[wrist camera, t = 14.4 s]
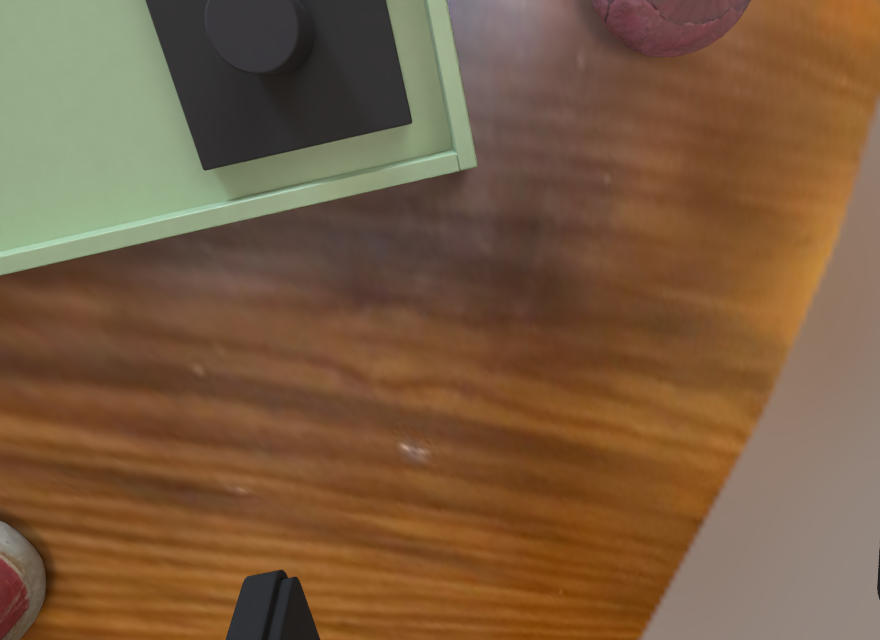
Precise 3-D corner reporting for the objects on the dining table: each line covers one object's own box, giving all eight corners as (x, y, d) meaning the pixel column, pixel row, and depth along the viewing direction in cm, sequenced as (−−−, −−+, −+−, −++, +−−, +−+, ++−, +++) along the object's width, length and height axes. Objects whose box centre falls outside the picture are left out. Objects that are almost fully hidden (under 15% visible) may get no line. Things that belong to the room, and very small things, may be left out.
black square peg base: (359, -117, 25) (352, -172, 20) (411, 121, 29) (418, 134, 23) (131, -65, 25) (57, -105, 20) (210, 167, 29) (166, 192, 23)
